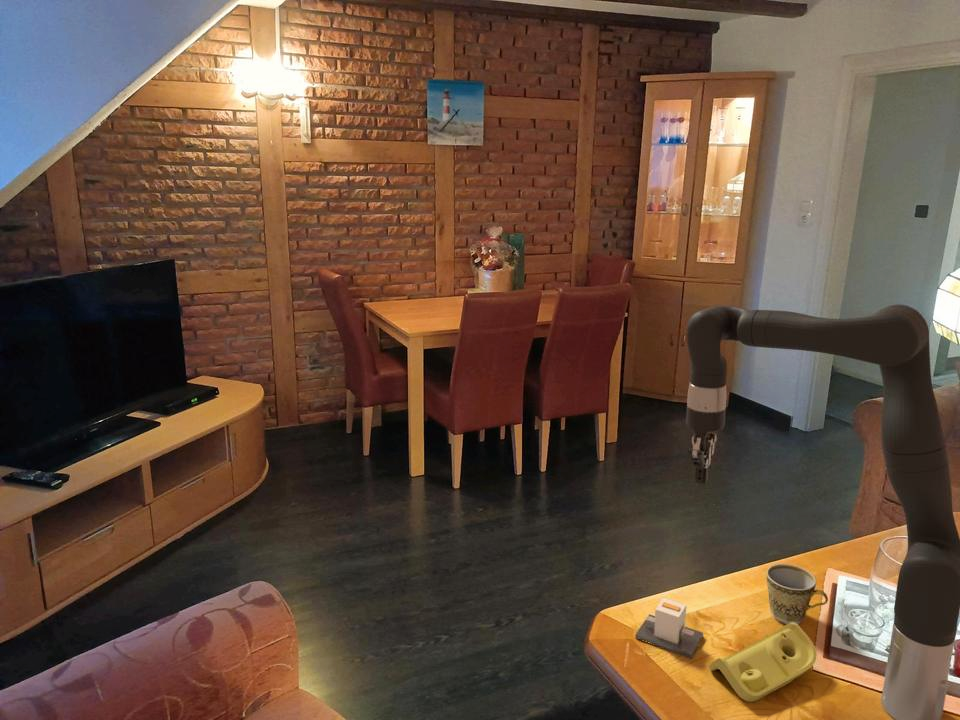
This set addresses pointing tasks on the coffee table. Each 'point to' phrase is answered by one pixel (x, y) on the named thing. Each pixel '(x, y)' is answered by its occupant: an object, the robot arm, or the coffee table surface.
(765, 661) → the plastic component
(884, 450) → the robot arm
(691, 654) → the panel
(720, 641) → the coffee table surface
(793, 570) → the ceramic cup
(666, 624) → the block
